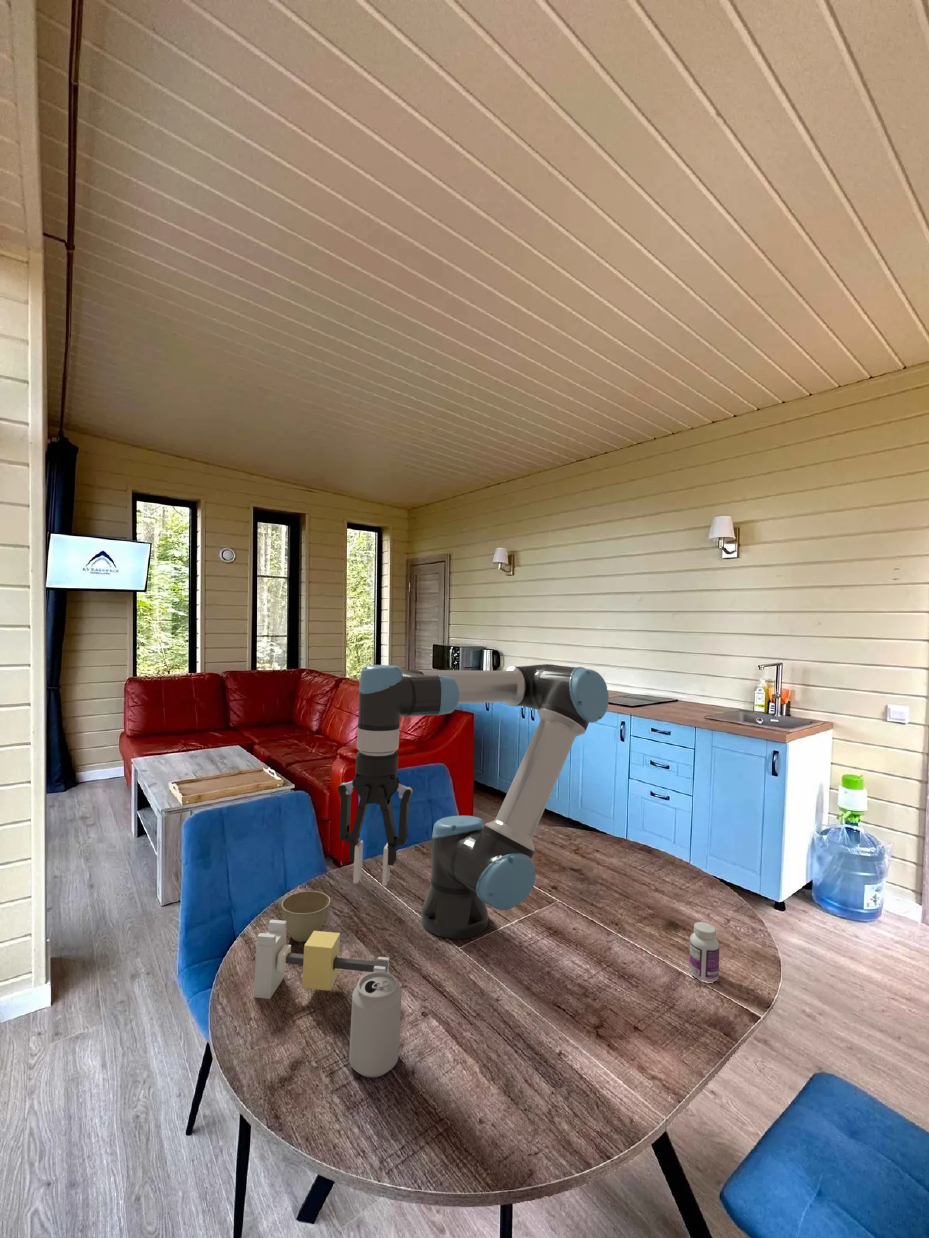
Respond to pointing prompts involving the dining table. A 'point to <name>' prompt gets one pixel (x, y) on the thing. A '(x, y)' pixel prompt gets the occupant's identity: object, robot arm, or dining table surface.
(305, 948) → the sleeve
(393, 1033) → the can
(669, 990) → the dining table surface
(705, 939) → the pill bottle
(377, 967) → the linear slide mechanism
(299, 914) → the flower pot
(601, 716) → the robot arm
